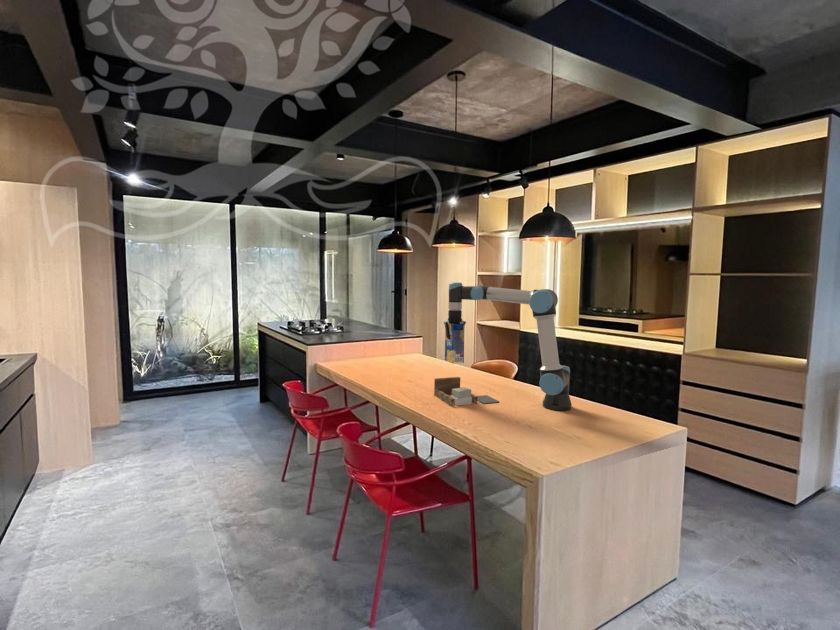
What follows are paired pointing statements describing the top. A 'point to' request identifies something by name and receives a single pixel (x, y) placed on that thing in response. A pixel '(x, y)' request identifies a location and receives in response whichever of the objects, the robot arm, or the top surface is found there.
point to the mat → (486, 399)
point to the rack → (448, 389)
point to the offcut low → (462, 400)
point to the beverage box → (455, 344)
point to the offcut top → (461, 392)
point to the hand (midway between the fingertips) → (454, 350)
